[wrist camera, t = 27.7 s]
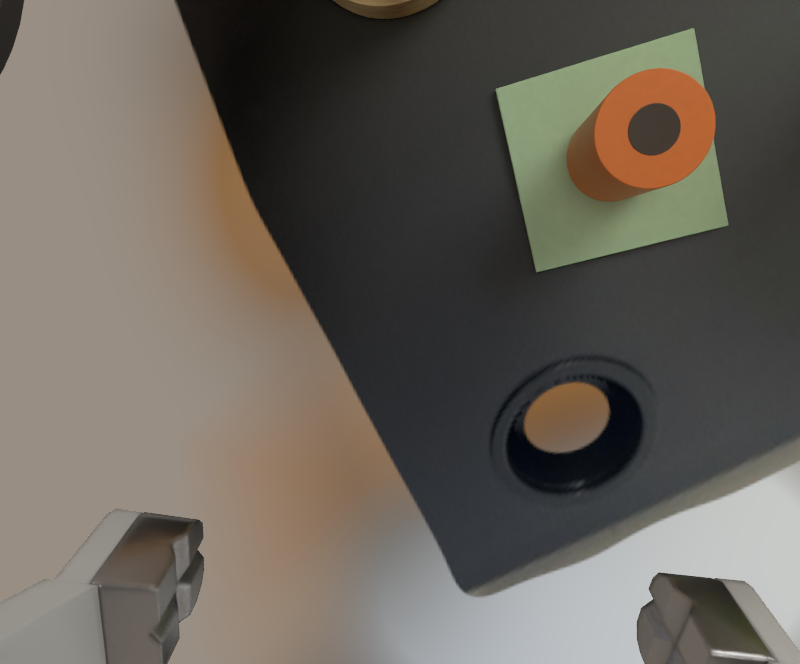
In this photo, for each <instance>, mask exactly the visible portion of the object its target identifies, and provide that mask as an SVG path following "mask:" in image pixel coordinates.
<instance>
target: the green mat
mask: <svg viewBox="0 0 800 664" xmlns="http://www.w3.org/2000/svg"><path fill="white" fill-rule="evenodd" d="M655 68H667V69H673V70H677V71H680V72H683V73H685V74H687V75H689V76H691V77H692V78H694V79H695V80H696V81H697V82H699V83H700V84H701V85H702V87H703V88H704V82H703V77H702V71H701V65H700V60H699V54H698V48H697V43H696V37H695V31H694V28H692V29H689V30H686V31H683V32H679V33H676V34H673V35H670V36H666V37H663V38H660V39H657V40H653V41H650V42H647V43H644V44H640V45H637V46H634V47H631V48H627V49H624V50H621V51H618V52H614V53H611V54H608V55H605V56H601V57H598V58H595V59H592V60H588V61H585V62H582V63H579V64H575V65H572V66H569V67H566V68H562V69H559V70H556V71H553V72H549V73H546V74H543V75H540V76H537V77H533V78H530V79H527V80H524V81H520V82H517V83H514V84H511V85H507V86H504V87H501V88H498V89H496V95H497V100H498V104H499V109H500V113H501V118H502V122H503V127H504V131H505V136H506V140H507V145H508V149H509V153H510V158H511V162H512V167H513V171H514V176H515V180H516V185H517V189H518V194H519V198H520V203H521V207H522V212H523V216H524V221H525V225H526V230H527V234H528V239H529V243H530V248H531V252H532V257H533V261H534V266H535V270H536V272H540V271H544V270H548V269H552V268H557V267H561V266H565V265H569V264H573V263H577V262H581V261H585V260H589V259H593V258H597V257H602V256H606V255H610V254H614V253H618V252H622V251H626V250H630V249H634V248H638V247H642V246H647V245H651V244H655V243H659V242H663V241H667V240H671V239H675V238H679V237H683V236H687V235H691V234H696V233H700V232H704V231H708V230H712V229H716V228H720V227H724V226H728V219H727V214H726V208H725V202H724V197H723V191H722V185H721V179H720V174H719V168H718V162H717V157H716V151H715V145H714V140H713V142H712V145H711V147H710V149H709V152H708V153H707V155H706V157H705V158H704V160H703V161H702V162H701V164H700V165H699V166H698V167H697V168H696V169H695V170H694V171H693V172H692V173H691V174H689V175H688V176H687V177H685V178H684V179H682V180H681V181H679V182H677V183H674V184H672V185H669V186H666V187H663V188H660V189H656V190H653V191H650V192H647V193H643V194H640V195H637V196H633V197H630V198H627V199H624V200H619V201H612V202H607V201H600V200H596V199H593V198H591V197H589V196H587V195H585V194H584V193H583V192H581V191H580V190H579V189H578V188H577V186H576V185H575V184H574V182H573V181H572V179H571V177H570V174H569V171H568V167H567V152H568V147H569V144H570V141H571V139H572V137H573V135H574V133H575V132H576V130H577V129H578V128H579V127H580V126H581V124H582V123H583V122H584V121H585V120H586V119H587V118H588V116H589V115H590V114H591V113H592V112H593V111H594V110H595V109H596V107H597V106H598V105H599V104H600V103H601V102H602V101H603V99H604V98H605V97H606V96H607V95H608V94H609V93H610V92H611V91H612V89H613V88H614V87H615V86H617V85H618V84H619V83H620V82H621V81H623V80H624V79H626V78H627V77H629V76H631V75H633V74H635V73H638V72H641V71H644V70H648V69H655ZM704 89H705V88H704Z"/></svg>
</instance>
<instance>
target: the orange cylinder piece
mask: <svg viewBox="0 0 800 664" xmlns="http://www.w3.org/2000/svg"><path fill="white" fill-rule="evenodd" d="M715 126H716V118H715V111H714V107H713V104H712V101H711V99H710V97H709V95H708V93H707V92H706V90H705V89H704V88H703V87H702V85H701V84H700V83H699V82H697V81H696V80H695V79H694V78H692V77H691V76H689V75H687V74H685V73H683V72H680V71H677V70H673V69H667V68H655V69H648V70H644V71H641V72H638V73H635V74H633V75H631V76H629V77H627V78H626V79H624V80H623V81H621V82H620V83H619V84H618V85H617V86H615V87H614V88H613V89H612V91H611V92H610V93H609V94H608V95H607V96H606V97H605V98H604V99H603V101H602V102H601V103H600V104H599V105H598V106H597V107H596V109H595V110H594V111H593V112H592V113H591V114H590V115H589V116H588V118H587V119H586V120H585V121H584V122H583V123H582V124H581V126H580V127H579V128H578V129H577V130H576V132H575V133H574V135H573V137H572V139H571V141H570V144H569V147H568V152H567V167H568V171H569V174H570V177H571V179H572V181H573V182H574V184H575V185H576V186H577V188H578V189H579V190H580V191H581V192H583V193H584V194H585V195H587V196H589V197H591V198H593V199H596V200H600V201H607V202H612V201H619V200H624V199H627V198H630V197H633V196H637V195H640V194H643V193H647V192H650V191H653V190H656V189H660V188H663V187H666V186H669V185H672V184H674V183H677V182H679V181H681V180H682V179H684V178H685V177H687V176H688V175H689V174H691V173H692V172H693V171H694V170H695V169H696V168H697V167H698V166H699V165H700V164H701V162H702V161H703V160H704V158H705V157H706V155H707V153H708V152H709V149H710V147H711V145H712V142H713V138H714V134H715Z"/></svg>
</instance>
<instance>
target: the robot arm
mask: <svg viewBox="0 0 800 664" xmlns="http://www.w3.org/2000/svg"><path fill="white" fill-rule="evenodd" d="M202 539H203V523H202V522H201V521H200V520H196V519H189V518H182V517H175V516H168V515H161V514H154V513H146V512H144V513H141V512H134V511H128V510H120V509H115V510H113V511H112V512H109V513H108V514H107V515H106V516H105V517H104V519H103V520H102V521H101V522H100V524H99V525H98V526H97V527H96V529H95V530H94V531H93V532H92V533H91V535H90V536H89V537H88V538H87V540H86V541H85V542H84V543H83V544H82V546H81V547H80V548H79V549H78V551H77V552H76V553H75V554H74V556H73V557H72V558H71V559H70V560H69V562H68V563H67V564H66V565H65V567H64V568H63V569H62V570H61V572H60V573H59V574H58V575H57V576H56V578H55V579H54V580H47V579H44V580H42V581H40V582H38V583H36V584H34V585H33V586H31V587H29V588H27V589H25V590H23V591H21V592H19V593H17V594H15V595H14V596H12V597H10V598H8V599H6V600H4V601H2V602H0V664H167V663H168V661H169V659H170V656H171V655H172V653H173V651H174V648H175V646H176V644H177V642H178V640H179V623H180V622H181V621H182V620H184V619H185V618H187V617H188V616H189V615H190V614H191V612H192V610H193V608H194V606H195V603H196V601H197V598H198V595H199V591H200V588H201V584H202V579H203V572H204V557H203V556H202V555H201V554H200V552H199V551H198V550H197V549H198V547H199V545H200V543H201V541H202ZM649 590H650V593H651V595H652V597H653V600H652V601H650V602H649V603H648V604H646V605H645V606H643V607H642V608H641V611H640V614H639V617H638V620H637V641H638V645H639V649H640V653H641V656H642V658H643V661H644V663H645V664H800V651H799V650H798V649H797V647H796V646H795V644H794V643H793V642H792V640H791V639H790V638H789V636H788V635H787V634H786V632H785V631H784V629H783V628H782V627H781V625H780V624H779V623H778V621H777V620H776V619H775V617H774V616H773V615H772V613H771V612H770V610H769V609H768V608H767V607H766V605H765V604H764V602H763V601H762V600H761V598H760V597H759V595H758V594H757V593H756V592H755V590H754V589H753V588H752V587H751V586H750V585H749V584H747V583H746V582H744V581H737V580H727V579H717V578H715V579H712V578H704V577H695V576H686V575H676V574H667V573H666V574H665V573H658V574H657V575H656V576H655V577H654V578H653V579H652V582H651V584H650V587H649Z"/></svg>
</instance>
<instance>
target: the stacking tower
mask: <svg viewBox="0 0 800 664" xmlns="http://www.w3.org/2000/svg"><path fill="white" fill-rule="evenodd" d="M333 1H334V2H336V3H337V4H338V5H340V6H341V7H343V8H345V9H347V10H349V11H351V12H353V13H355V14H358V15H361V16H365V17H370V18H376V19H392V18H400V17H404V16H408V15H412V14H415V13H417V12H419V11H422V10H424V9H426V8H428V7H429V6H431V5H433V4H434V3H436V2H437V1H439V0H333Z"/></svg>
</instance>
